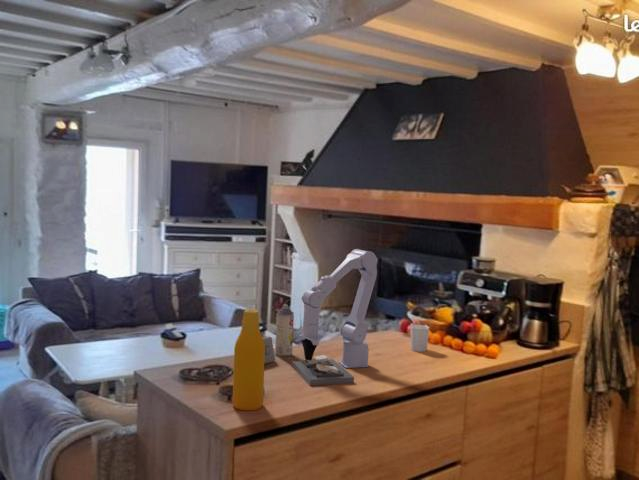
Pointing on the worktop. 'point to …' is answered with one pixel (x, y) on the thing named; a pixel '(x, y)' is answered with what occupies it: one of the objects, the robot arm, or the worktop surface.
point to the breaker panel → (322, 373)
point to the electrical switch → (269, 350)
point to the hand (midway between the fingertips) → (308, 359)
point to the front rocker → (326, 368)
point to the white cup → (419, 337)
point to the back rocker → (318, 359)
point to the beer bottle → (249, 364)
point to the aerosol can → (284, 332)
